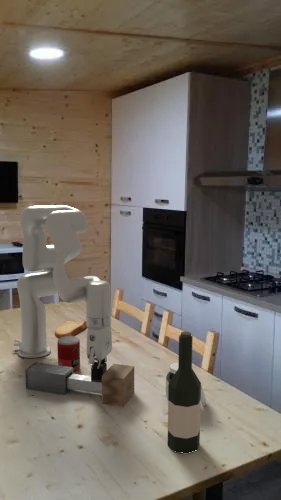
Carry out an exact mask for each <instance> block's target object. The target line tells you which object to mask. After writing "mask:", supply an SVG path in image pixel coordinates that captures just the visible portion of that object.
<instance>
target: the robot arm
mask: <svg viewBox="0 0 281 500" xmlns="http://www.w3.org/2000/svg"><path fill="white" fill-rule="evenodd" d="M20 226H21V230H22V234H23V235H22V236H23V239H22V240H23V241H22V242H23V243H22V267H23V269H24V270H25V271H27V272H32V273H25V274H23V275H21V276H20V277H18V279H17V282H16V288H17V292H18V298H19V307H20V308H19V309H20V329H21V331H20V332H21V339H14V342H13V346H14V347H19V348H18V350H17V354H18V356H20V357H22V358H26V359H37V358H41V357H42V358H43V357H45V356H47V355H49V354H50V353H51V351H52V350H51V349H52V348H51V347H50V346H49V345H47V314H46V313H47V312H46V311H47V309H46V306H45V304H44V303H43V302H42V301H41V300H40V298H43V297H48V296H54V295H55V296H56V295H57V294H58V296H59V298H61V300H62V301H63V302H65V303H68V304H71V303H73V304H74V303H79V302H82V301H84V302H85V310H86V311H85V314H86V315H85V316H86V318H85V319H86V320H85V321H86V328H87V331H86V333H87V335H86V357H87V359H88V362H87V363H88V366H89V365H90V376H91V379H92V380H99V381H100V380H101V379H102V369H101V368H100V363H104V364H107V361H108V357H107V356H109V354H110V353H111V352H112V351H113V341H112V340H113V337H112V327H111V326H112V324H111V323H112V322H111V321H112V318H111V317H112V316H111V315H112V313H111V312H112V310H111V306H112V305H111V303H112V301H111V299H112V298H111V297H112V295H111V292H112V291H111V288H112V287H111V284H110V282H108V281H107V280H102V279H101V278H99V277H98V276H97V275H87V276H78V277H72V278H69V277H68V275H67V272H66V270H65V264H67V263H68V262H70V261H71V260H73V259H74V258H76V257H78V255H79V254H81V252H82V251H83V246H82V242H81V241H80V239H79V236H78V235H79V234H84V233H85V232H86V231H87V229H88V218H87V217H86V215H85V213H84V212H83V211H81V210H80V209H78V208H74V207H71V206H69V205H64V204H55V205H53V204H50V205H48V204H47V205H33V206H32V205H31V206H27V207H25V208H24V209H22V212H21V215H20ZM46 230H47V232H48V235H49V237H50V240H51V242H52V244H47V240H48V235H47V233H46Z"/></svg>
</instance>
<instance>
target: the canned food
mask: <svg viewBox="0 0 281 500" xmlns="http://www.w3.org/2000/svg"><path fill="white" fill-rule="evenodd" d="M80 342H81V341H80V338H79V337H77V336H65V337H61V338H57V342H56V343H57V365H59V366H66V367H73V373H75V372H79V370H80V368H81V343H80Z"/></svg>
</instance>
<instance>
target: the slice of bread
mask: <svg viewBox="0 0 281 500" xmlns="http://www.w3.org/2000/svg"><path fill="white" fill-rule="evenodd" d="M86 328H87V326H86V320H83V321H75V320H71V319H68V320H66V321H64V322H62V323H60V324H58V325H57V326H56V329H55V331H54V336H55V338H57V339H59V338H61V337H65V336H74V337H76V335H78V334H80V333H81V332H83V330H84V329H86Z"/></svg>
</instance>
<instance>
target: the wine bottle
mask: <svg viewBox="0 0 281 500" xmlns="http://www.w3.org/2000/svg"><path fill="white" fill-rule="evenodd" d="M193 337H194V336H193V335H192V333H191V332H190V331H181V332H180V334H179V336H178V362H179V366H178V370H177V371H176V373H175V375H174V376H173V378H172V379H171V381H170V383H169V384H168V399H167V447H168V448H169V449H170V450H172V451H173V450H174V451H176V452H175V453H177V452H183V453H189V452H192V451H195V450H197V449H199V447H198V446H200V440H201V439H200V438H201V436H200V435H201V432H200V431H201V405H202V403H201V386H202V382H201V381H200V378H199V377H198V376H197V374H196V372H195V371H194V369H193ZM174 451H173V452H174ZM197 451H198V450H197ZM195 452H196V451H195ZM183 453H182V454H183ZM192 453H193V452H192ZM189 454H190V453H189Z"/></svg>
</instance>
